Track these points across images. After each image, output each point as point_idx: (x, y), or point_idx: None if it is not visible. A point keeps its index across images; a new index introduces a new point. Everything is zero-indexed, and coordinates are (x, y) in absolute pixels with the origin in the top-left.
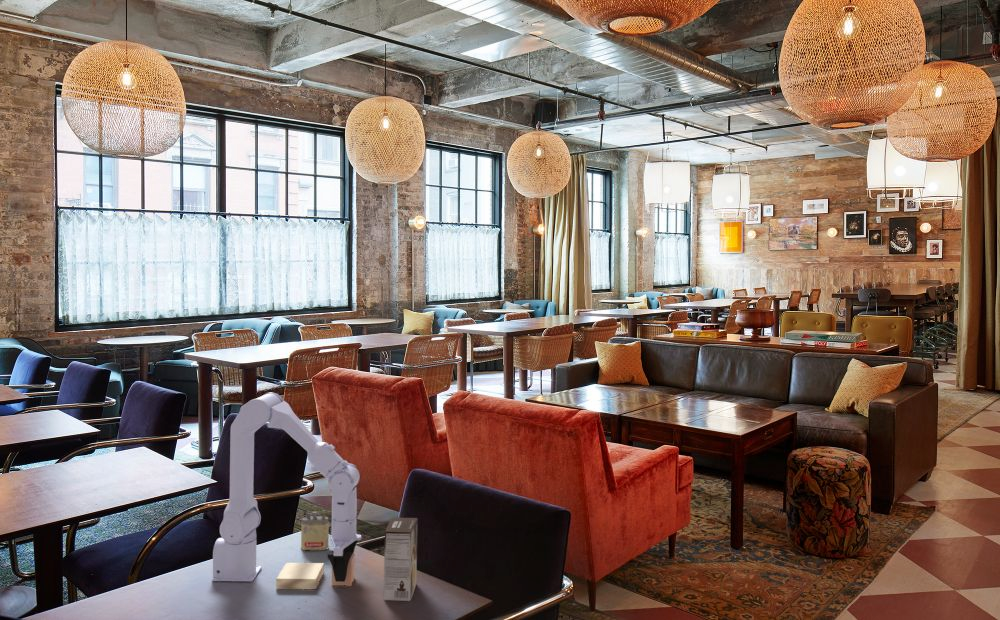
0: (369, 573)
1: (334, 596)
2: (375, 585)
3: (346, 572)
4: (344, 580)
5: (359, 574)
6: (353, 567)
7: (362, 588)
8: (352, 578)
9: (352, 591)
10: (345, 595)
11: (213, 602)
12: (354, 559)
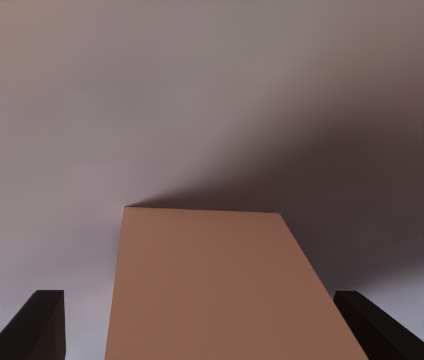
0: (12, 79)
1: (407, 290)
2: (300, 6)
3: (417, 341)
4: (364, 297)
5: (46, 172)
6: (188, 282)
7: (336, 125)
8: (228, 230)
9: (368, 194)
10: (415, 231)
11: None
12: (120, 335)
